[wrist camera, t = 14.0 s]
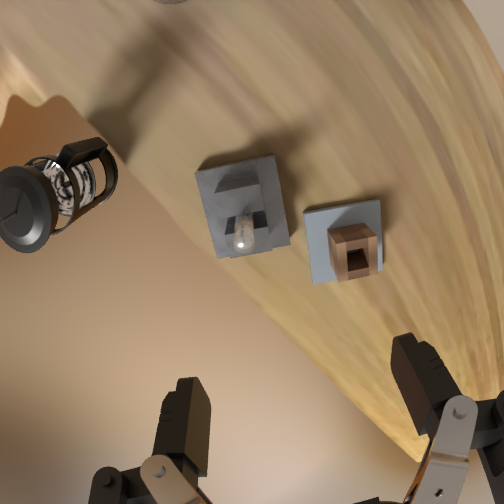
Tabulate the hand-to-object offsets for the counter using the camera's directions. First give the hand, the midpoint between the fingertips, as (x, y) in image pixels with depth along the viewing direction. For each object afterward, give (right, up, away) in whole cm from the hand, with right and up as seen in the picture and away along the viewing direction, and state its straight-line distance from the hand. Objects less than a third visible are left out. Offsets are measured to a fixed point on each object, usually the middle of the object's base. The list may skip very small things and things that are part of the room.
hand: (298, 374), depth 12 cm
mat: (+12, +6, +32) cm, 35 cm away
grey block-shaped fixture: (-3, +11, +30) cm, 32 cm away
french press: (-24, +16, +27) cm, 40 cm away
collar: (+12, +6, +31) cm, 34 cm away
